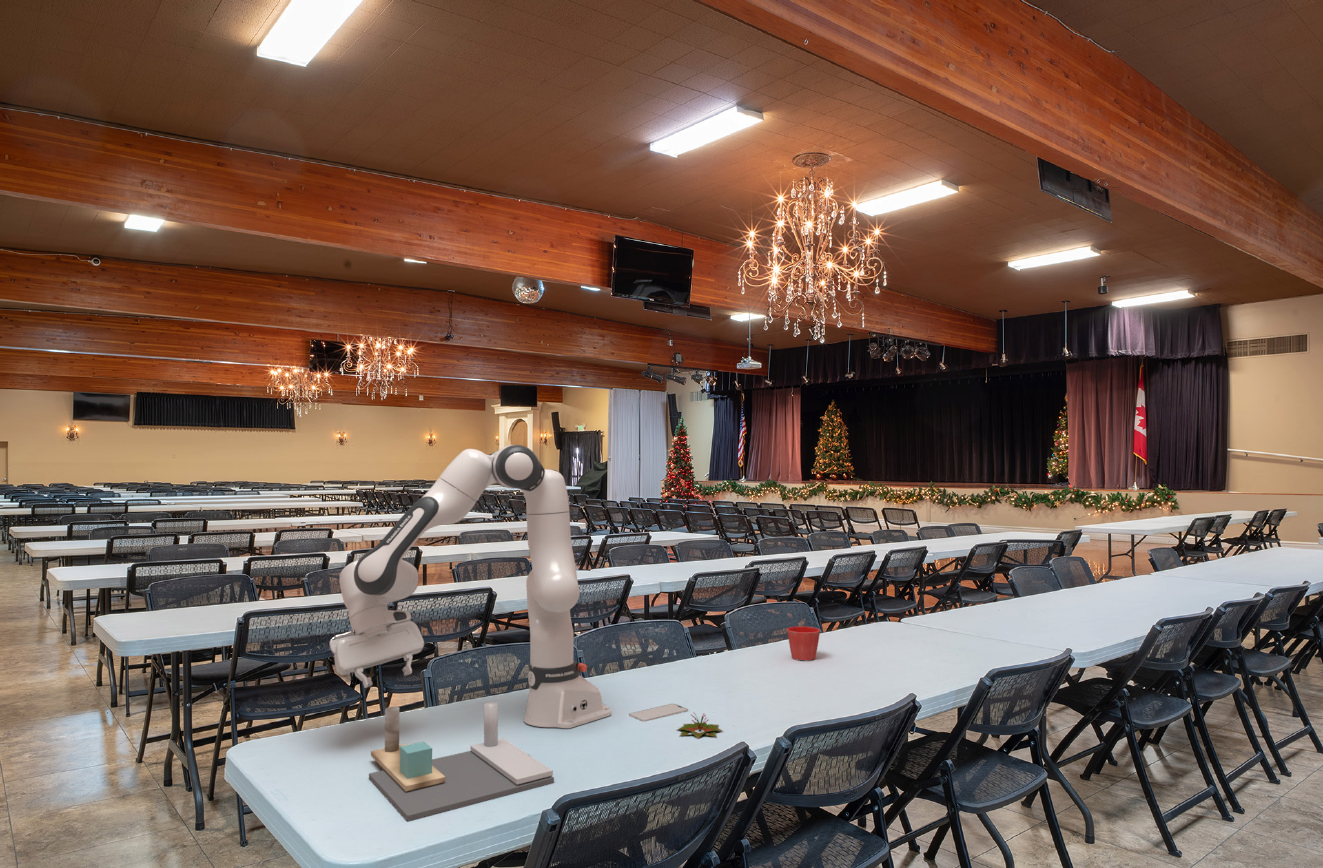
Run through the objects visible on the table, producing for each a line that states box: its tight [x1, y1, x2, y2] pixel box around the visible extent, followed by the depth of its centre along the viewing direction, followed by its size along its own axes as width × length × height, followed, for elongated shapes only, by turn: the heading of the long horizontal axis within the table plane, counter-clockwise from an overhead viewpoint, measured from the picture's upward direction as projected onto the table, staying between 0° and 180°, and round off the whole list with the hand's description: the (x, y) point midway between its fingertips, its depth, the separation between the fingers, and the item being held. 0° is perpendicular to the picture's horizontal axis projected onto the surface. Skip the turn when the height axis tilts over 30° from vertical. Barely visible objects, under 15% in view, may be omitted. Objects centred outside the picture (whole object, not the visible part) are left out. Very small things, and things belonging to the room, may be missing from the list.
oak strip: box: [370, 706, 445, 791], centre depth 168 cm, size 8×24×10 cm, turn 36°
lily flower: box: [676, 712, 723, 740], centre depth 194 cm, size 12×12×5 cm
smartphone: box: [628, 703, 689, 722], centre depth 209 cm, size 7×1×15 cm
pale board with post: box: [470, 701, 554, 785], centre depth 171 cm, size 8×24×10 cm, turn 36°
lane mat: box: [368, 750, 555, 822], centre depth 165 cm, size 30×25×1 cm
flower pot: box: [786, 626, 821, 662], centre depth 267 cm, size 11×11×10 cm
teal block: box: [400, 741, 433, 779], centre depth 163 cm, size 5×5×5 cm
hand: (388, 680), depth 185 cm, fingers open, 8 cm apart
